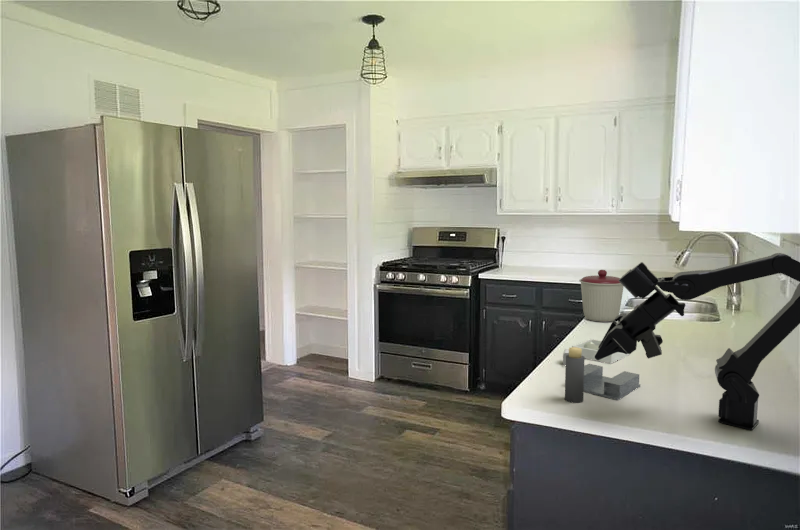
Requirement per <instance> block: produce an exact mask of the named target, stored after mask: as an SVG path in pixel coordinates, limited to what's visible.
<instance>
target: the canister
mask: <svg viewBox="0 0 800 530" xmlns="http://www.w3.org/2000/svg"><path fill="white" fill-rule="evenodd" d="M607 274H608V272H607V270H606V269H600V270H598V272H597V275H586V276H584V277H582V278H580V279H579V283H580V290H581V300H582V301H581V302H582V310H583V316H584V317H585V318H586V319H587V320H589V321H593V322H598V323H599V322H600V323H609V322H611V323H612V322H613V320H614V319H615V318H616V317H617V316H618V315H619V314H620V312H621V305H622V299H623V295H624V293H623V292H624V288H625V287H624V286H623V285H622V284H621V283H620V282H619V281H618V280H619V279H620V278H621V277H618V276H612V275H607ZM614 321H615V320H614ZM615 322H616V321H615Z"/></svg>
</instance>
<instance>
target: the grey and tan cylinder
mask: <svg viewBox="0 0 800 530" xmlns="http://www.w3.org/2000/svg"><path fill="white" fill-rule="evenodd" d="M568 349H569V355H566V366H565V373H564V374H565V376H564V377H565V379H564V400H565V401H566V402H568V403H572V402H573V404H574V403H575V404H579V403H583V402H584V392H583V391H584V366H585V358H584V356H582V349H581V348H577V347H572V346H571V347H569V348H568Z"/></svg>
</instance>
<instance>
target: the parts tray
mask: <svg viewBox="0 0 800 530" xmlns="http://www.w3.org/2000/svg"><path fill="white" fill-rule="evenodd" d="M590 341H591V342H592V343H594V344H595V345H600V343H601V342H602V340H599V339H594V338H589V339H585V340H584V341H582V342H578V343H576V344H573V345H571V347H577V348H581V349H582V356H584V359H585V358H586V360H589V359H592V360H591V361H594V360H596V359H595V355H596V353H597V351H598V350H593V349H588V348H584V346H585V343H587V342H590ZM626 356H627V357H628V356H630V354H624V353H621V352H616V353H614V354H612V355H609V356H607V357H605V358H602V359H600V360H596V361H595V362H599V361H600V362H601V363H604V362H605V363H604V364H609V363H610V365H612V364H614V363H616V362H618V361H621V360H622V359H625V358H627V357H626ZM624 357H625V358H624ZM617 360H618V361H617ZM615 361H616V362H615ZM613 362H614V363H613ZM611 363H612V364H611Z"/></svg>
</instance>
